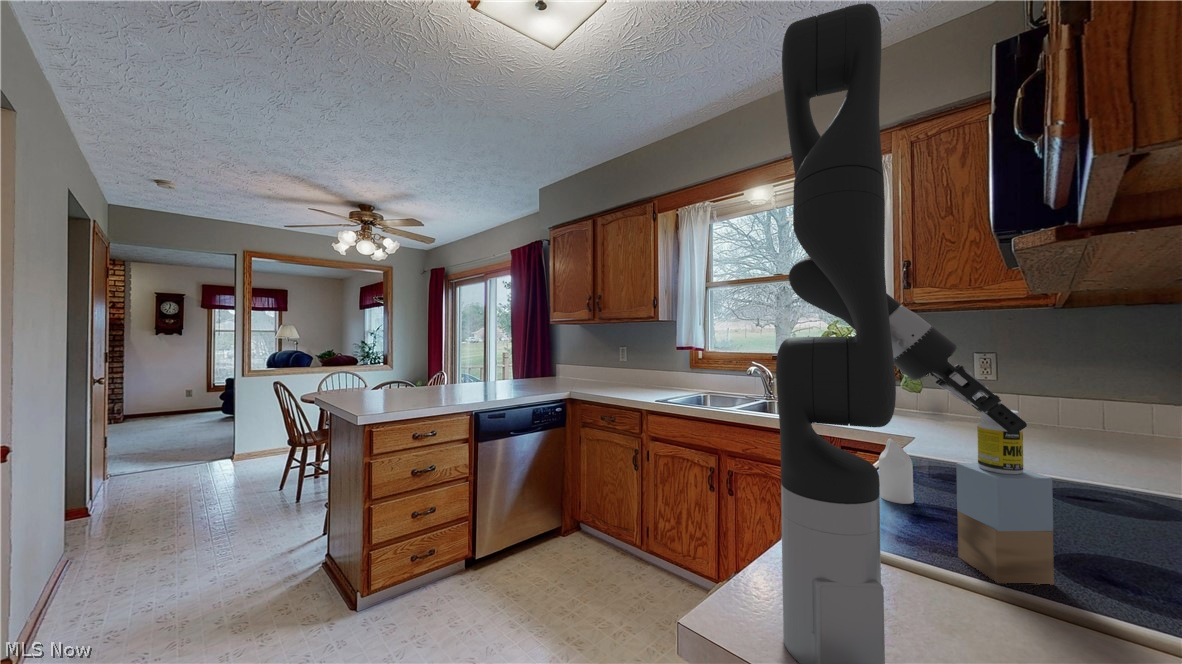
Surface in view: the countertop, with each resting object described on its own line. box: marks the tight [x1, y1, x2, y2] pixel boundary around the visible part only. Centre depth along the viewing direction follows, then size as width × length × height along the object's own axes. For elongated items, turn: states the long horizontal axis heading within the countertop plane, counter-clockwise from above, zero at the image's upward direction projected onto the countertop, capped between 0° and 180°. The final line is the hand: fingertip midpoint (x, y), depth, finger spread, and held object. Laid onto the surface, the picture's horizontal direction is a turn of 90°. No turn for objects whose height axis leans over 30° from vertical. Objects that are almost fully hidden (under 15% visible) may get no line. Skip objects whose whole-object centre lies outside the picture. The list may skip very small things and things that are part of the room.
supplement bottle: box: [976, 409, 1024, 475], centre depth 63 cm, size 5×5×8 cm
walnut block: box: [957, 511, 1055, 586], centre depth 63 cm, size 7×7×7 cm
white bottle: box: [878, 438, 915, 505], centre depth 90 cm, size 6×12×6 cm
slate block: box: [955, 462, 1054, 532], centre depth 63 cm, size 7×7×7 cm
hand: (1009, 424), depth 62 cm, fingers open, 8 cm apart
